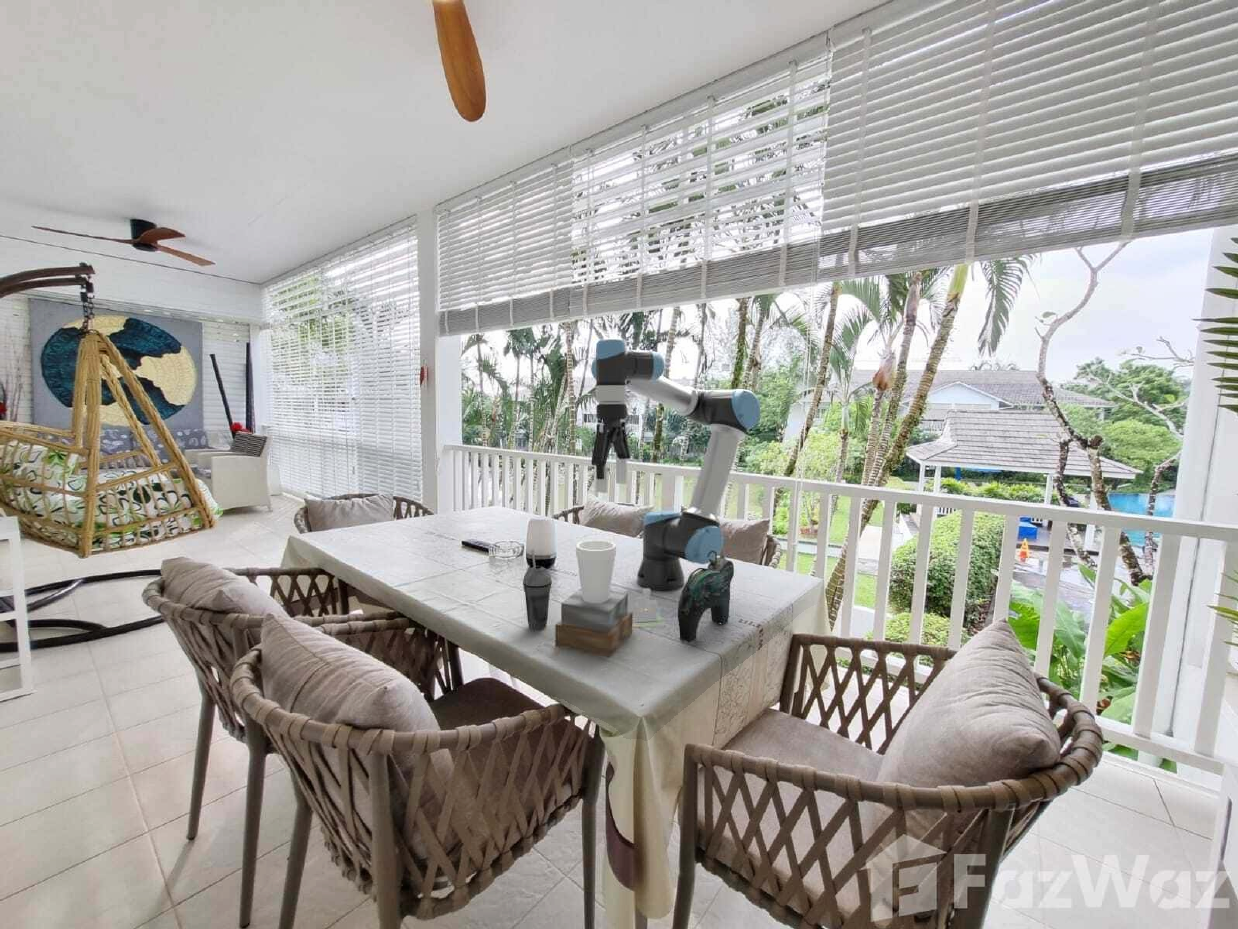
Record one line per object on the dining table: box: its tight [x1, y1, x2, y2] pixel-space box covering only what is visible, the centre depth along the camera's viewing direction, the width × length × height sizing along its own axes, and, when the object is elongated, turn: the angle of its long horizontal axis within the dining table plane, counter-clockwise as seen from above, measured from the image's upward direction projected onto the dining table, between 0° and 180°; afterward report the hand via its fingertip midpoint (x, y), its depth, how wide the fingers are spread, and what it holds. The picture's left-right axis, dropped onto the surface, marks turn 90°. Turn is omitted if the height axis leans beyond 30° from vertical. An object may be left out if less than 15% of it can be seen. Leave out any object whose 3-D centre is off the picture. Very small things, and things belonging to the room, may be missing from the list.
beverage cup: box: [522, 549, 553, 631], centre depth 125 cm, size 7×7×20 cm
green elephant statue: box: [677, 551, 735, 643], centre depth 125 cm, size 20×6×20 cm, turn 136°
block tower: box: [554, 588, 633, 658], centre depth 120 cm, size 14×14×10 cm
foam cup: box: [575, 539, 617, 603], centre depth 118 cm, size 10×9×13 cm
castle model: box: [610, 587, 665, 628], centre depth 134 cm, size 15×15×7 cm
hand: (612, 487), depth 126 cm, fingers open, 13 cm apart
